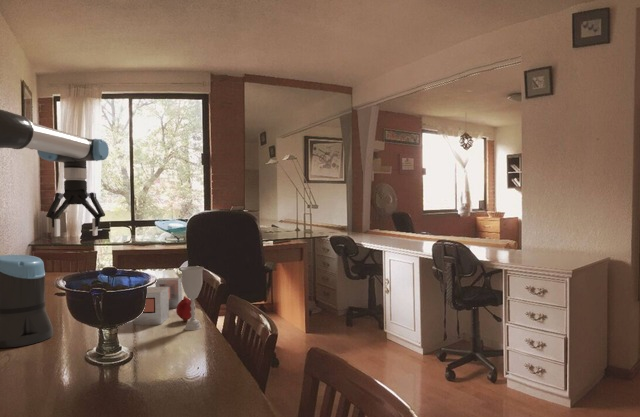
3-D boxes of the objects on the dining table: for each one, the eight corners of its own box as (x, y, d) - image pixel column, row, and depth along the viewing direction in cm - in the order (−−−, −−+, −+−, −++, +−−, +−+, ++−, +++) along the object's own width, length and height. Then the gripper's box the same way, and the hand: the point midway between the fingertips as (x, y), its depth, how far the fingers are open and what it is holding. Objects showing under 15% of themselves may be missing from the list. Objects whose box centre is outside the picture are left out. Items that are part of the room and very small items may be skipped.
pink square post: (154, 311, 135) (153, 298, 135) (140, 312, 135) (140, 299, 135) (170, 298, 153) (169, 287, 153) (158, 299, 153) (158, 287, 152)
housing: (160, 324, 135) (160, 292, 135) (134, 325, 135) (133, 293, 134) (168, 316, 144) (168, 286, 144) (144, 317, 144) (143, 287, 143)
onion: (198, 318, 141) (197, 294, 141) (191, 323, 135) (190, 298, 135) (181, 318, 142) (180, 294, 142) (173, 323, 136) (172, 297, 136)
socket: (178, 307, 157) (178, 279, 156) (155, 308, 156) (155, 280, 156) (181, 304, 161) (181, 277, 161) (159, 305, 160) (159, 278, 160)
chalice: (197, 331, 127) (196, 270, 126) (176, 330, 128) (175, 269, 128) (209, 324, 134) (208, 266, 133) (188, 323, 135) (187, 266, 135)
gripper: (113, 180, 170) (114, 234, 170) (46, 180, 167) (46, 235, 167) (106, 179, 162) (106, 235, 162) (35, 179, 160) (36, 237, 160)
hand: (76, 236), depth 165 cm, fingers open, 13 cm apart
